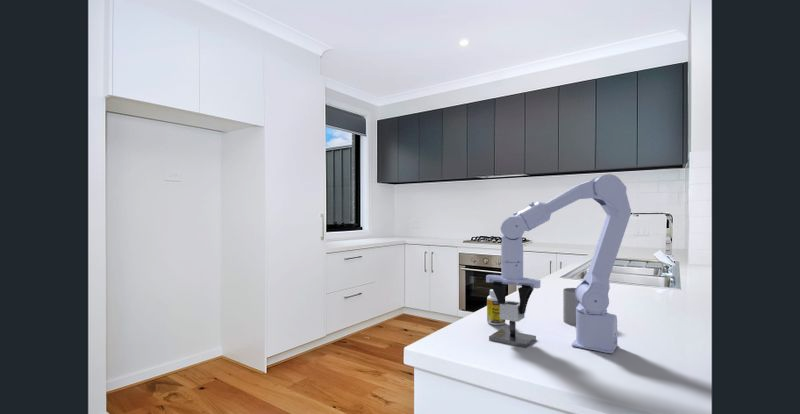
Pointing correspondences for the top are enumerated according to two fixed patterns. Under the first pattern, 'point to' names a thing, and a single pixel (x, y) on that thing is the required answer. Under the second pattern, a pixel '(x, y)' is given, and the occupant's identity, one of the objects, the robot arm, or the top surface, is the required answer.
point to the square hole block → (511, 311)
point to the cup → (569, 306)
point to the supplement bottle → (493, 310)
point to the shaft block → (512, 336)
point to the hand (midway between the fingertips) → (512, 311)
